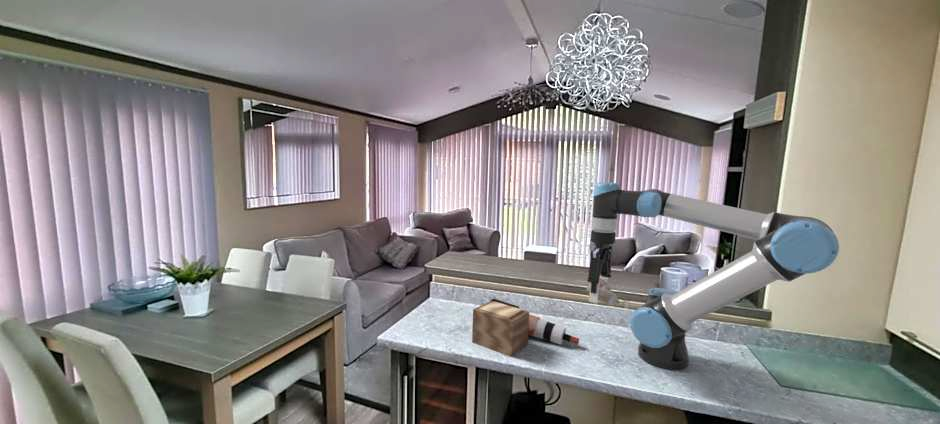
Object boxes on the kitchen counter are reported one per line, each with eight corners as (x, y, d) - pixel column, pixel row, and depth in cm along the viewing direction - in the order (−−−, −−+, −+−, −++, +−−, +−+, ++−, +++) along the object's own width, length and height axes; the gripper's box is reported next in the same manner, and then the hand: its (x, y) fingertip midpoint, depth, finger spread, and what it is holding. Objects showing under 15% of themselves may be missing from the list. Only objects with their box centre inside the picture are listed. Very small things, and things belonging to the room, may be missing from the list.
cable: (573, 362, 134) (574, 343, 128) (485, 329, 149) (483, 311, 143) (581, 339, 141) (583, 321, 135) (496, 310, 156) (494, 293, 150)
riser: (527, 344, 135) (529, 310, 134) (511, 356, 127) (512, 320, 125) (489, 331, 145) (490, 299, 143) (472, 342, 136) (473, 307, 135)
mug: (610, 310, 119) (596, 280, 121) (591, 313, 128) (578, 284, 130) (627, 301, 122) (613, 271, 124) (608, 304, 131) (595, 276, 133)
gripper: (602, 225, 135) (597, 288, 138) (580, 232, 119) (574, 304, 122) (624, 228, 131) (619, 293, 134) (604, 236, 115) (598, 310, 118)
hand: (597, 298), depth 128 cm, fingers closed on mug, 7 cm apart
